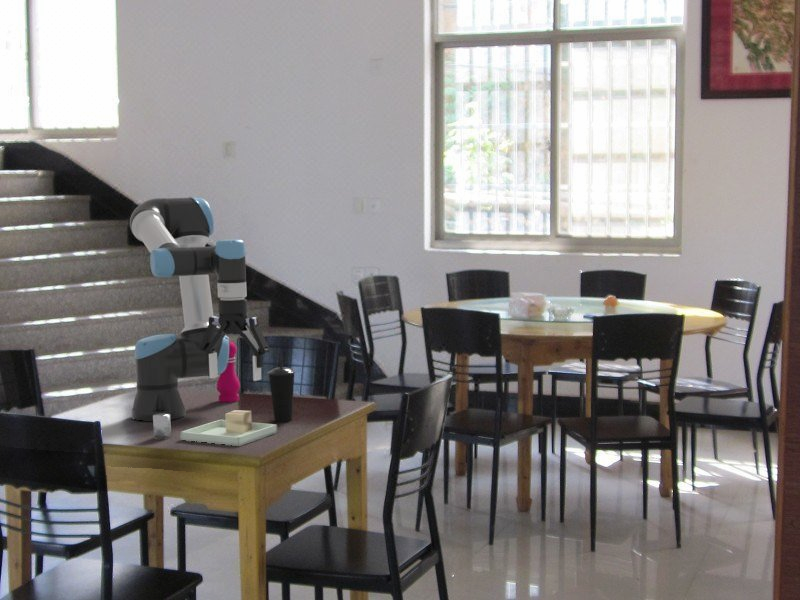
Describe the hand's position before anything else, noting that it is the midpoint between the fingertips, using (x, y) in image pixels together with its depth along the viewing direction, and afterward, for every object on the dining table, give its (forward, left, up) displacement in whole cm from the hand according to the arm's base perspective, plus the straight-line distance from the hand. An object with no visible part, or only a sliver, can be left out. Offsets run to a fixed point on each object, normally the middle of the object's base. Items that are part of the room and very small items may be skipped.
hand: (235, 378), depth 287 cm
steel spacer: (-15, -12, -15) cm, 24 cm away
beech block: (0, 0, -14) cm, 14 cm away
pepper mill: (-31, +38, -15) cm, 52 cm away
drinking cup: (+2, +19, -15) cm, 24 cm away
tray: (+1, -4, -15) cm, 15 cm away
